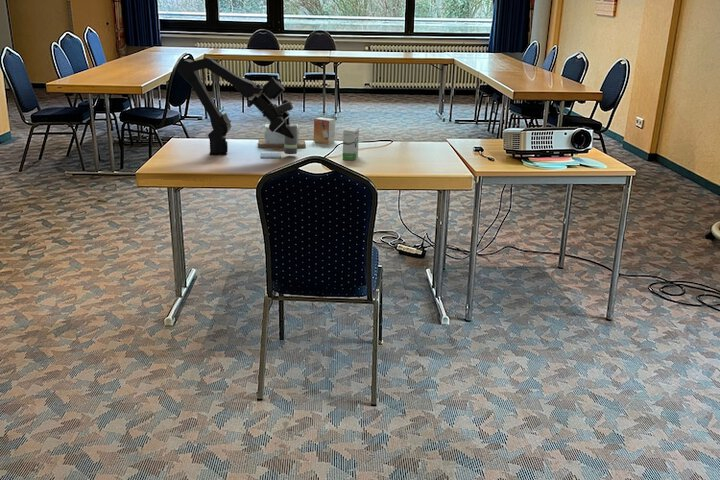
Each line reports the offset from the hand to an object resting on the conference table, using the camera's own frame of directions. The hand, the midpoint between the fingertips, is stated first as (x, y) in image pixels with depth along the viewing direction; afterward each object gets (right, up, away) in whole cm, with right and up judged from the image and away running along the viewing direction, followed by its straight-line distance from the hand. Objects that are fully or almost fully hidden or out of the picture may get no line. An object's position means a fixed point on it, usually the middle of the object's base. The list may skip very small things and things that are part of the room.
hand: (294, 136), depth 276 cm
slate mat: (-10, -8, +2) cm, 12 cm away
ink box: (+22, -8, +4) cm, 24 cm away
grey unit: (-8, 0, +23) cm, 24 cm away
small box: (+10, +2, +33) cm, 35 cm away
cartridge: (-2, -6, +2) cm, 7 cm away
